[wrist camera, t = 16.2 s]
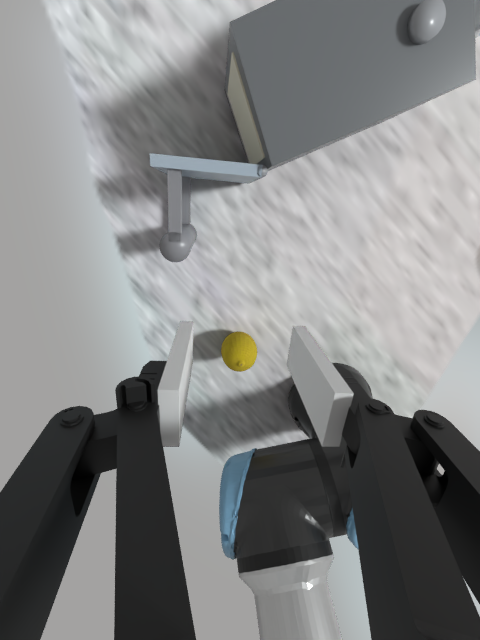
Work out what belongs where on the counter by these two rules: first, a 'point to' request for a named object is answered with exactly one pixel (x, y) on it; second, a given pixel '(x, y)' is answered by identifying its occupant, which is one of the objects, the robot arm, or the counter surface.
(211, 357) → the counter surface
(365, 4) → the grey cabinet
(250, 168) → the side door
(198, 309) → the counter surface
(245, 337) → the lemon
